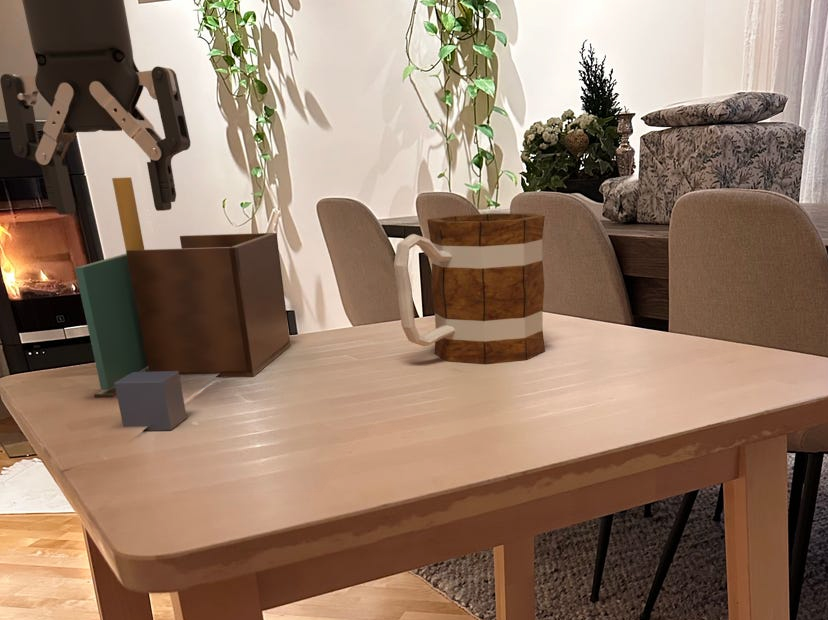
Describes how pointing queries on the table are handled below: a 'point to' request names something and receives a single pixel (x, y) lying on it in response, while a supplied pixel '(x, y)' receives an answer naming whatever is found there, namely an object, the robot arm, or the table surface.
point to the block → (151, 400)
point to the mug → (479, 287)
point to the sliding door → (115, 300)
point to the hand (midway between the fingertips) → (115, 212)
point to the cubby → (210, 305)
